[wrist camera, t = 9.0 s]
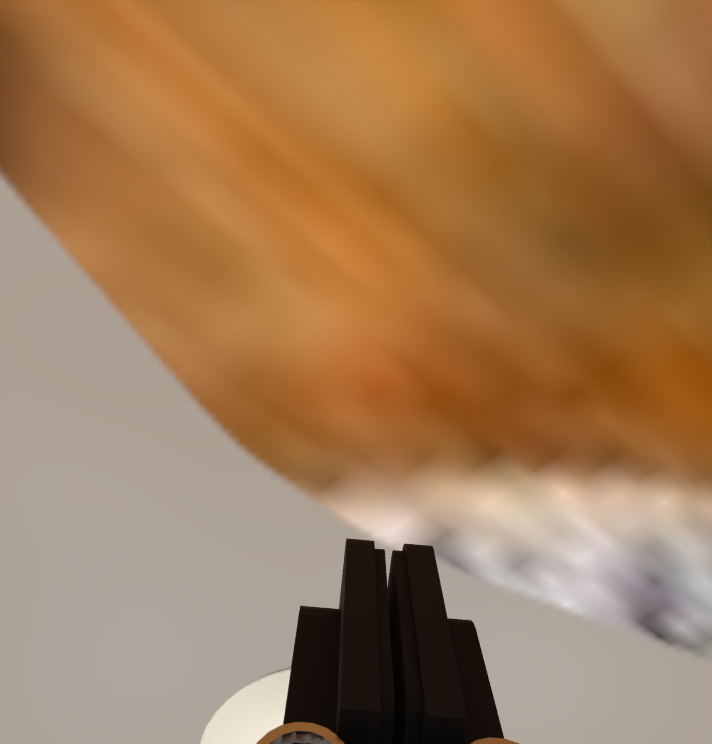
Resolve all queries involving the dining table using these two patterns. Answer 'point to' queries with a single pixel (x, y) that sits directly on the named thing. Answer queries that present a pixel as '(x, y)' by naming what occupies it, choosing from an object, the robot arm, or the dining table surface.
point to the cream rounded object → (250, 711)
